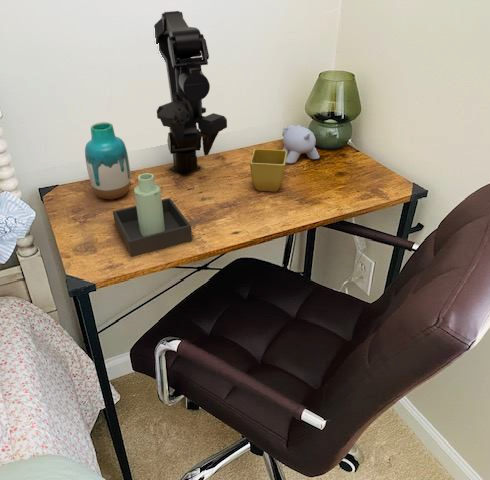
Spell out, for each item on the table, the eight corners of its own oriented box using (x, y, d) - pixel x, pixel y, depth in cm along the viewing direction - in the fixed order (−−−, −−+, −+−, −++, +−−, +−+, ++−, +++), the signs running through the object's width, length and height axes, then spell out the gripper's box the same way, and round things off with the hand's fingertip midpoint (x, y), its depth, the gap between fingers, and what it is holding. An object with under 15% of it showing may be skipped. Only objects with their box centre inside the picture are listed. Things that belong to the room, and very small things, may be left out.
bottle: (135, 231, 113) (127, 177, 105) (153, 221, 117) (146, 168, 109) (151, 240, 110) (144, 185, 102) (169, 230, 113) (164, 175, 105)
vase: (141, 193, 129) (132, 124, 119) (109, 209, 123) (96, 138, 112) (116, 182, 136) (105, 115, 125) (84, 196, 129) (70, 127, 118)
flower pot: (283, 196, 125) (284, 164, 120) (249, 194, 127) (249, 162, 122) (285, 180, 132) (287, 149, 127) (253, 179, 134) (253, 148, 129)
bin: (115, 225, 117) (112, 211, 115) (171, 211, 121) (169, 197, 119) (131, 257, 106) (128, 241, 104) (192, 240, 110) (191, 225, 108)
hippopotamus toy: (302, 142, 153) (304, 112, 148) (325, 161, 141) (328, 130, 136) (270, 147, 151) (271, 117, 146) (290, 167, 139) (292, 135, 134)
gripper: (136, 89, 114) (144, 151, 123) (192, 104, 103) (197, 171, 112) (171, 78, 121) (176, 138, 129) (227, 91, 110) (229, 155, 118)
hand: (193, 150), depth 122 cm, fingers open, 9 cm apart
